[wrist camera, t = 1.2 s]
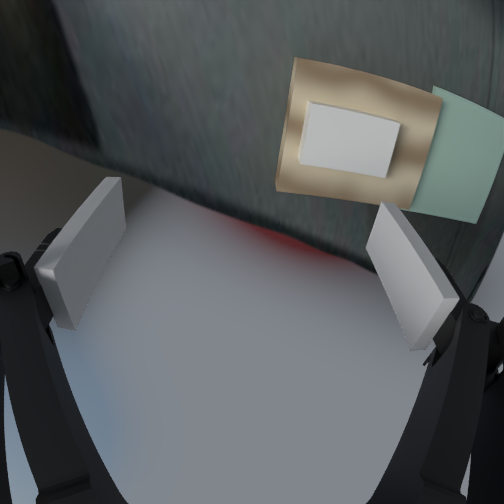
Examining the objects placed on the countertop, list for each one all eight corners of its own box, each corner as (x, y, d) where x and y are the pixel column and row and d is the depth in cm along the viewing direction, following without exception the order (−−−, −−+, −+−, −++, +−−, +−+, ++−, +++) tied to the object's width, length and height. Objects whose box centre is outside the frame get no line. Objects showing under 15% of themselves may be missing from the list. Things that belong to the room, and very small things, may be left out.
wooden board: (294, 57, 27) (298, 57, 25) (431, 93, 28) (442, 98, 26) (274, 181, 35) (276, 191, 33) (400, 200, 36) (408, 209, 34)
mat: (433, 85, 28) (436, 86, 27) (509, 121, 29) (512, 122, 28) (398, 206, 37) (400, 209, 36) (473, 221, 38) (475, 223, 38)
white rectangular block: (297, 157, 31) (300, 164, 29) (307, 100, 27) (311, 103, 26) (378, 170, 32) (385, 178, 30) (392, 118, 28) (400, 123, 26)
